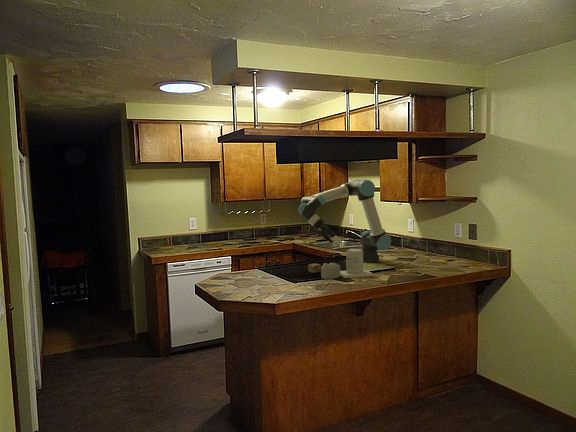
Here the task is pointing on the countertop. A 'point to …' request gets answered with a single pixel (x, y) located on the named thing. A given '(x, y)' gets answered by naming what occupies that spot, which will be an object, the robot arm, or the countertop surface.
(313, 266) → the walnut block
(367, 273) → the counting board
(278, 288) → the countertop surface
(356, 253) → the supplement box
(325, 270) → the lumpy-topped squat cylinder
